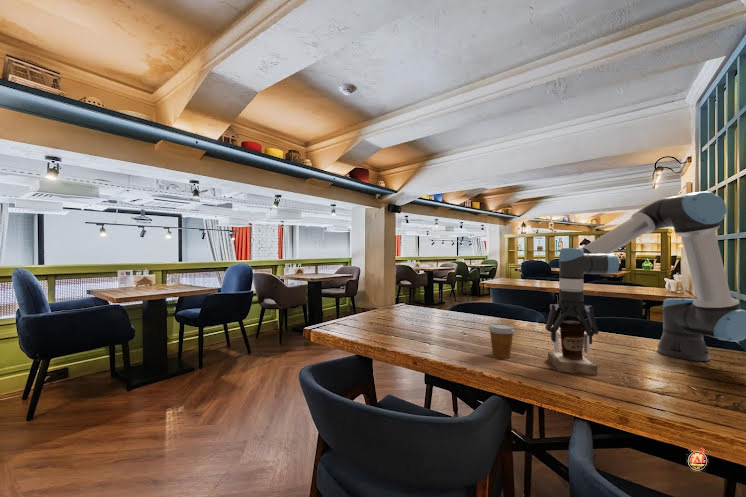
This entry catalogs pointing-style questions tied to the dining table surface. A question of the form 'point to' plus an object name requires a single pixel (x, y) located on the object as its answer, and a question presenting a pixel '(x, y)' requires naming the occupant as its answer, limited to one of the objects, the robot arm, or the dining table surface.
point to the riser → (572, 364)
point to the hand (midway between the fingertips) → (571, 351)
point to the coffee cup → (572, 339)
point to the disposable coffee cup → (501, 340)
